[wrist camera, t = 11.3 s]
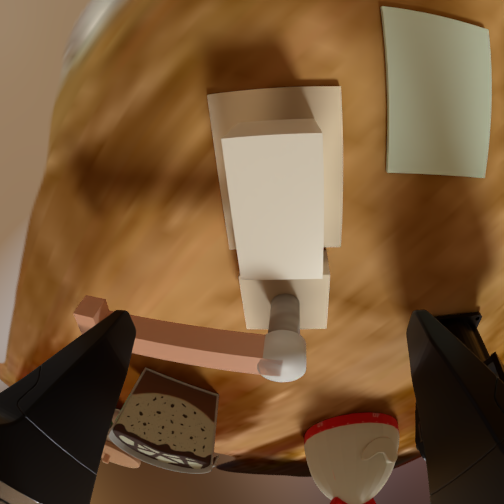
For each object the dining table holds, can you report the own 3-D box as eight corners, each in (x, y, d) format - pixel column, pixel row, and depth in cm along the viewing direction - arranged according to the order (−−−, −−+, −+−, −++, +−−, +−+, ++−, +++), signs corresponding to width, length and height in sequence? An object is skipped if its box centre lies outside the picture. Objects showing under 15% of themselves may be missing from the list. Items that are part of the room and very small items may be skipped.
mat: (485, 29, 12) (488, 29, 11) (482, 176, 17) (484, 178, 17) (380, 7, 13) (382, 5, 13) (385, 170, 19) (387, 172, 18)
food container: (130, 384, 37) (104, 446, 28) (133, 362, 33) (103, 432, 25) (216, 416, 38) (202, 481, 30) (230, 398, 35) (216, 472, 26)
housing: (339, 86, 16) (364, 92, 11) (336, 302, 25) (343, 366, 19) (208, 94, 17) (170, 105, 12) (239, 303, 26) (225, 366, 20)
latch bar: (86, 295, 18) (73, 313, 17) (310, 327, 17) (311, 351, 16) (99, 332, 20) (89, 350, 19) (301, 364, 19) (300, 387, 18)
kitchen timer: (359, 453, 42) (361, 530, 30) (288, 443, 41) (280, 530, 28) (416, 417, 35) (429, 510, 22) (339, 404, 34) (341, 519, 21)
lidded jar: (164, 429, 44) (149, 477, 36) (131, 433, 48) (116, 474, 40) (112, 395, 40) (90, 446, 32) (85, 403, 44) (65, 445, 36)
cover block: (314, 118, 17) (322, 132, 13) (317, 235, 21) (322, 278, 17) (238, 122, 18) (220, 138, 14) (251, 236, 22) (241, 279, 18)
